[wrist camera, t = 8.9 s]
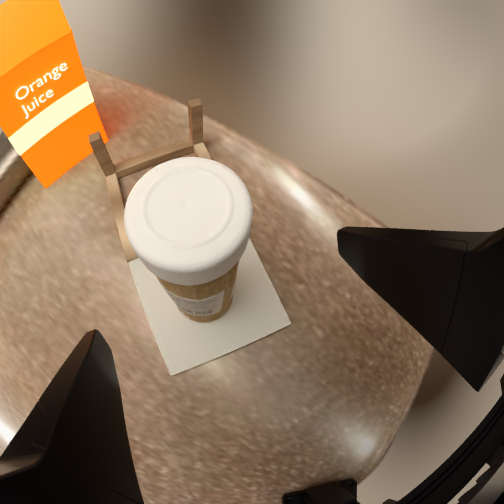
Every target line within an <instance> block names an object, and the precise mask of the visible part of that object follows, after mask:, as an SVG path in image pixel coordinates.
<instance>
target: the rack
mask: <svg viewBox="0 0 504 504" xmlns="http://www.w3.org/2000/svg"><path fill="white" fill-rule="evenodd" d="M188 113H189V127H190V139H187V140H184V141H181V142H178V143H175V144H172V145H169V146H165V147H163V148H160V149H157V150H154V151H151V152H148V153H145V154H143V155H140V156H137V157H134V158H132V159H129V160H127V161H124V162H121V163H119V164H116V165H113V163H112V160H111V158H110V156H109V153H108V151H107V149H106V146H105V144H104V142H103V139H102V137H101V134H100V132H99V131H97V132H95V133H93V134H90V135H88V136H89V143H90V145H91V147H92V150H93V152H94V154H95V156H96V158H97V160H98V162H99V164H100V166H101V168H102V170H103V172H104V174H105V176H106V179H107V184H108V189H109V194H110V198H111V203H112V207H113V211H114V215H115V219H116V223H117V227H118V231H119V235H120V238H121V242H122V246H123V249H124V253H125V256H126V259H127V261H128V263H129V262H130V261H133V260H135V259H138V258H139V257H138V256H137V254H136V253H135V251H134V249H133V247H132V246H131V244H130V242H129V240H128V237H127V235H126V231H125V226H124V209H125V204H124V201H123V197H122V193H121V189H120V185H119V180H118V179H119V178H122V177H124V176H127V175H129V174H132V173H134V172H137V171H140V170H142V169H145V168H148V167H150V166H153V165H156V164H159V163H162V162H164V161H167V160H170V159H173V158H176V157H179V156H182V155H185V154H188V153H192V152H194V153H195V155H196V157H200V158H206V159H210V160H212V159H211V157H210V155H209V153H208V151H207V149H206V147H205V145H204V143H203V114H202V103H201V101H200V100H199V98H198V99H194V100H190V101H188Z"/></svg>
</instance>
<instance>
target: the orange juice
mask: <svg viewBox="0 0 504 504" xmlns="http://www.w3.org/2000/svg"><path fill="white" fill-rule="evenodd" d="M0 126H1V128H2V129H3V131H4V132H5V134H6V135H7V137H8V139H9V141H10V142H11V144H12V145H13V147H14V148H15V149H16V151H17V152H18V154H19V155H20V156H21V157H22V158H23V160H24V161H25V162H26V164H27V165H28V166H29V168H30V169H31V170H32V172H33V173H34V174H35V176H36V177H37V178H38V179H39V181H40V182H41V183H42V184H43V186H44V187H45V188H47V187H48V186H50V185H51V184H52V183H53V182H54V181H56V180H57V179H58V178H59V177H60V176H62V175H63V174H64V173H65V172H67V171H68V170H69V169H70V168H72V167H73V166H74V165H76V164H77V163H78V162H80V161H81V160H82V159H83V158H85V157H86V156H88V155H89V154H90V153H92V152H93V150H92V147H91V145H90V143H89V136H88V135H90V134H93V133H95V132H97V131H99V132H100V134H101V137H102V139H103V142H104V143H106V142H107V141H108V138H107V136H106V133H105V131H104V128H103V125H102V123H101V120H100V117H99V115H98V112H97V109H96V106H95V104H94V99H93V96H92V93H91V91H90V88H89V85H88V82H87V80H86V77H85V74H84V71H83V68H82V64H81V61H80V58H79V55H78V51H77V48H76V44H75V41H74V37H73V33H72V30H71V29H70V27H69V24H68V22H67V20H66V17H65V15H64V13H63V10H62V8H61V5H60V3H59V0H7V1H6V2H4V3H2V4H1V5H0Z"/></svg>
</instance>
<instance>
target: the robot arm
mask: <svg viewBox="0 0 504 504" xmlns="http://www.w3.org/2000/svg"><path fill="white" fill-rule="evenodd" d="M337 241H338V251H339V254H340V255H341V257H342V258H343V259H344V260H345V261H346V262H347V263H348V264H349V266H350V267H351V268H352V269H353V270H354V271H355V272H356V273H357V274H358V275H359V277H360V278H361V279H362V280H363V281H364V282H365V283H366V284H367V285H368V286H369V287H371V288H372V289H373V290H374V291H375V292H376V293H377V294H378V295H379V296H380V297H382V298H383V299H384V300H385V301H386V302H387V303H388V304H389V305H390V306H391V307H392V308H393V309H394V310H396V311H397V312H398V313H399V314H400V315H401V316H402V317H403V318H404V319H405V320H406V321H407V322H408V323H409V324H410V325H411V326H412V327H413V328H415V329H416V330H417V331H418V332H419V333H420V334H421V335H422V336H423V337H424V338H425V339H426V340H427V341H428V342H429V343H430V344H431V345H432V346H433V347H434V348H435V349H436V350H437V351H438V352H439V353H441V355H442V356H443V357H444V358H445V359H446V360H447V361H448V362H449V363H450V364H451V365H452V366H453V367H454V368H455V369H456V370H457V372H458V373H459V374H460V375H461V376H462V377H463V378H464V379H465V380H466V381H467V382H468V383H469V384H470V385H471V386H472V387H473V388H474V389H475V390H476V391H477V392H479V391H480V390H481V388H482V387H483V386H484V384H485V383H486V382H487V381H488V379H489V378H490V377H491V375H492V374H493V373H494V371H495V370H496V369H497V367H498V366H499V364H500V363H501V362H502V360H503V359H504V228H502V229H500V230H497V231H493V232H457V231H435V230H430V231H429V230H416V229H397V228H374V227H344V228H342V229H339V230H338V232H337ZM500 383H501V389H502V396H501V397H500V398H499V400H498V401H497V403H496V404H495V405H494V407H493V408H492V409H491V411H490V412H489V413H488V414H487V416H486V417H485V418H484V419H483V421H482V422H481V423H480V424H479V425H478V427H477V428H476V429H475V431H473V433H472V434H471V435H470V436H469V437H468V438H467V439H466V440H465V441H464V443H463V444H462V445H461V446H460V447H459V448H458V449H457V450H456V451H455V452H454V453H453V454H452V455H451V456H450V457H449V458H448V459H447V460H446V461H445V462H444V463H443V464H442V465H441V466H440V467H439V468H438V469H437V470H435V471H434V472H433V473H432V474H431V475H430V476H429V477H428V478H426V479H425V480H424V481H423V482H422V483H421V484H419V485H418V486H417V487H416V488H415V489H413V490H412V491H411V492H410V493H408V494H407V495H406V496H405V497H403V498H402V499H401V500H399V501H395V500H391V499H388V500H386V501H385V502H383V504H447V503H448V502H449V501H451V500H452V499H453V497H455V495H456V494H458V493H459V492H460V491H461V490H462V489H463V488H464V487H465V485H466V484H467V483H468V482H469V481H470V480H471V479H472V478H473V477H474V476H475V475H476V474H477V473H478V471H479V470H480V469H481V468H482V467H483V466H484V464H485V463H487V464H489V466H490V468H489V469H488V470H487V471H486V472H484V473H483V474H482V475H481V476H480V477H479V478H478V479H477V480H476V482H477V484H476V485H475V486H474V487H472V488H471V489H470V490H469V491H467V492H466V493H465V494H464V495H462V496H461V497H460V498H459V499H458V501H459V503H457V504H504V375H503V376H502V378H501V380H500ZM351 482H352V484H351V485H349V484H350V483H351ZM287 498H291V499H290V500H286V499H287ZM0 504H144V502H143V498H142V495H141V491H140V488H139V484H138V480H137V476H136V472H135V468H134V464H133V460H132V455H131V451H130V446H129V441H128V436H127V430H126V424H125V419H124V412H123V406H122V398H121V392H120V387H119V382H118V378H117V374H116V369H115V364H114V360H113V355H112V351H111V349H110V347H109V345H108V344H107V342H106V341H105V339H104V338H103V336H102V335H101V333H100V332H99V331H98V330H97V329H94V330H92V331H89V332H87V333H86V334H85V335H84V336H83V338H82V339H81V340H80V342H79V343H78V344H77V346H76V347H75V348H74V350H73V351H72V353H71V354H70V355H69V357H68V358H67V359H66V361H65V362H64V364H63V365H62V366H61V368H60V369H59V371H58V372H57V374H56V375H55V376H54V378H53V379H52V381H51V382H50V384H49V385H48V387H47V388H46V390H45V391H44V393H43V394H42V396H41V397H40V399H39V401H38V402H37V403H36V405H35V407H34V408H33V410H32V411H31V413H30V414H29V416H28V417H27V419H26V420H25V422H24V423H23V425H22V426H21V428H20V429H19V430H18V432H17V433H16V435H15V436H14V438H13V439H12V440H11V442H10V443H9V445H8V446H7V448H6V449H5V451H4V452H3V454H2V455H1V456H0ZM282 504H360V503H359V502H357V481H356V480H354V479H353V478H350V479H347V480H343V481H340V482H332V483H328V484H325V485H321V486H316V487H312V488H308V489H307V490H304V491H299V492H294V493H289V494H285V495H284V496H283V497H282Z"/></svg>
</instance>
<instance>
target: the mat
mask: <svg viewBox="0 0 504 504" xmlns="http://www.w3.org/2000/svg"><path fill="white" fill-rule="evenodd" d="M129 266H130V269H131V272H132V275H133V278H134V281H135V284H136V287H137V290H138V293H139V296H140V299H141V302H142V305H143V308H144V310H145V313H146V316H147V319H148V321H149V324H150V327H151V329H152V332H153V334H154V337H155V339H156V342H157V344H158V347H159V349H160V352H161V354H162V357H163V359H164V361H165V364H166V366H167V368H168V370H169V373H170V375H171V376H172V375H175V374H178V373H180V372H183V371H185V370H188V369H190V368H193V367H195V366H198V365H200V364H203V363H205V362H208V361H210V360H213V359H215V358H217V357H220V356H222V355H224V354H227V353H229V352H231V351H234V350H236V349H238V348H241V347H243V346H245V345H247V344H250V343H252V342H254V341H256V340H258V339H261V338H263V337H265V336H267V335H269V334H271V333H273V332H275V331H278V330H280V329H282V328H284V327H286V326H288V325H290V324H292V323H291V321H290V319H289V317H288V315H287V313H286V311H285V309H284V307H283V305H282V303H281V301H280V299H279V297H278V295H277V293H276V291H275V289H274V286H273V284H272V282H271V280H270V278H269V276H268V274H267V272H266V270H265V268H264V266H263V264H262V262H261V260H260V258H259V256H258V254H257V252H256V250H255V248H254V246H253V244H252V242H251V240H250V238H249V240H248V243H247V246H246V249H245V251H244V253H243V255H242V257H241V258H240V259H239V264H238V269H237V279H236V284H235V289H234V293H233V299H232V304H231V306H230V308H229V310H228V311H227V312H226V313H225V314H224V315H223V316H222V317H220V318H219V319H217V320H214V321H212V322H207V323H199V322H195V321H193V320H190V319H189V318H187V317H185V316H184V315H183V314H182V313H181V312H180V311H179V309H178V308H177V306H176V304H175V303H174V302H173V300H172V299H171V298H170V296H169V295H168V294H167V292H166V291H165V290H164V288H163V287H162V285H161V284H160V283H159V281H158V279H157V277H156V275H154V274H153V273H152V272H150V271H149V270H148V269H147V268H146V267H145V265H144V264H143V263H142V261H141V260H140V259H139V258H138V259H135V260H133V261H130V262H129Z"/></svg>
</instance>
